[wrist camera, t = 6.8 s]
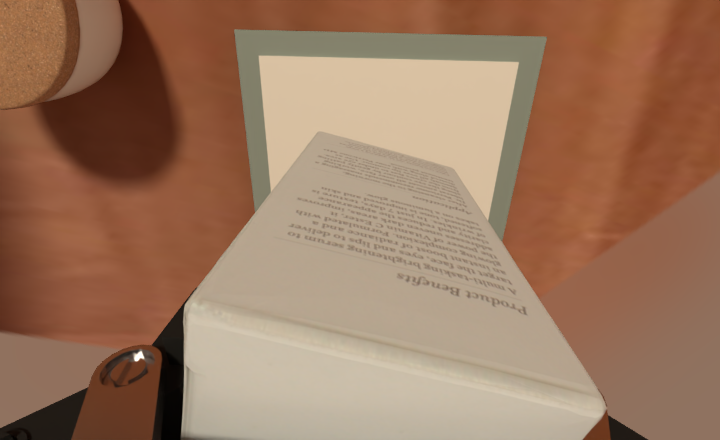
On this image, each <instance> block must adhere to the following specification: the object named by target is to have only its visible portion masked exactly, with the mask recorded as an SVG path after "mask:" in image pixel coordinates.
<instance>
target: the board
mask: <svg viewBox="0 0 720 440" xmlns="http://www.w3.org/2000/svg"><path fill="white" fill-rule="evenodd" d="M234 31H235V40H236V49H237V58H238V66H239V75H240V84H241V93H242V101H243V110H244V119H245V128H246V136H247V145H248V154H249V163H250V172H251V180H252V189H253V198H254V207H255V212H256V211H257V210H258V208H259V207H260V206H261V204H262V203H263V202H264V201H265V199H266V198H267V197H268V195H269V194H270V193H271V192H272V190H273V189H274V188H275V186H276V185H277V184H278V182H279V181H280V180H281V179H282V177H283V176H284V175H285V173H286V172H287V171H288V170H289V168H290V167H291V166H292V164H293V163H294V162H295V161H296V159H297V158H298V157H299V155H300V154H301V153H302V152H303V150H304V149H305V148H306V146H307V145H308V144H309V142H310V141H311V140H312V139H313V137H314V136H315V135H316V133H317V132H318V131H321V132H325V133H329V134H333V135H337V136H341V137H344V138H348V139H352V140H355V141H359V142H362V143H366V144H370V145H373V146H377V147H381V148H384V149H388V150H392V151H395V152H399V153H402V154H406V155H410V156H413V157H417V158H420V159H424V160H427V161H431V162H434V163H437V164H441V165H444V166H448V167H451V168H453V169H454V170H455V171H456V173H457V174H458V176H459V177H460V179H461V181H462V182H463V184H464V185H465V187H466V188H467V190H468V191H469V193H470V194H471V196H472V197H473V199H474V200H475V202H476V203H477V205H478V206H479V208H480V209H481V211H482V212H483V214H484V216H485V217H486V219H487V220H488V222H489V223H490V225H491V226H492V228H493V229H494V231H495V233H496V234H497V236H498V237H499V239H500V240H501V241H502V239H503V235H504V230H505V226H506V221H507V217H508V212H509V208H510V203H511V198H512V194H513V189H514V185H515V180H516V176H517V171H518V167H519V162H520V158H521V153H522V148H523V144H524V139H525V135H526V130H527V126H528V121H529V117H530V112H531V107H532V103H533V98H534V94H535V89H536V85H537V80H538V76H539V71H540V66H541V62H542V57H543V53H544V48H545V44H546V39H547V37H533V36H489V35H446V34H403V33H359V32H316V31H272V30H234Z"/></svg>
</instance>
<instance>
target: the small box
mask: <svg viewBox="0 0 720 440" xmlns="http://www.w3.org/2000/svg"><path fill="white" fill-rule="evenodd" d="M183 326H184V393H183V413H182V428H181V440H583V439H584V438H585V436H586V435H587V434H588V433H589V432H590V431H591V429H592V428H593V427H594V426H595V425H596V424H597V423H598V422H599V421H600V420H601V419H602V417H603V415H604V414H605V412H606V410H607V407H606V404H605V402H604V399H603V397H602V395H601V393H600V392H599V390H598V388H597V387H596V385H595V384H594V382H593V381H592V379H591V377H590V376H589V374H588V373H587V371H586V370H585V369H584V367H583V365H582V364H581V362H580V361H579V359H578V358H577V356H576V355H575V353H574V352H573V350H572V349H571V348H570V345H569V344H568V342H567V341H566V339H565V338H564V336H563V335H562V333H561V332H560V330H559V329H558V327H557V326H556V324H555V323H554V321H553V320H552V318H551V317H550V315H549V314H548V312H547V311H546V309H545V308H544V306H543V305H542V303H541V302H540V300H539V298H538V297H537V295H536V294H535V292H534V291H533V289H532V288H531V286H530V285H529V283H528V282H527V280H526V279H525V277H524V275H523V274H522V272H521V271H520V269H519V268H518V266H517V265H516V263H515V262H514V260H513V259H512V257H511V255H510V254H509V252H508V251H507V249H506V247H505V246H504V244H503V243H502V241H501V240H500V239H499V237H498V236H497V234H496V233H495V231H494V229H493V228H492V226H491V225H490V223H489V222H488V220H487V219H486V217H485V216H484V214H483V212H482V211H481V209H480V208H479V206H478V205H477V203H476V202H475V200H474V199H473V197H472V196H471V194H470V193H469V191H468V190H467V188H466V187H465V185H464V184H463V182H462V181H461V179H460V177H459V176H458V174H457V173H456V171H455V170H454V169H453V168H451V167H448V166H444V165H441V164H437V163H434V162H431V161H427V160H424V159H420V158H417V157H413V156H410V155H406V154H402V153H399V152H395V151H392V150H388V149H384V148H381V147H377V146H373V145H370V144H366V143H362V142H359V141H355V140H352V139H348V138H344V137H341V136H337V135H333V134H329V133H325V132H321V131H318V132H317V133H316V135H315V136H314V137H313V139H312V140H311V141H310V142H309V144H308V145H307V146H306V148H305V149H304V150H303V152H302V153H301V154H300V155H299V157H298V158H297V159H296V161H295V162H294V163H293V164H292V166H291V167H290V168H289V170H288V171H287V172H286V173H285V175H284V176H283V177H282V179H281V180H280V181H279V182H278V184H277V185H276V186H275V188H274V189H273V190H272V192H271V193H270V194H269V195H268V197H267V198H266V199H265V201H264V202H263V203H262V204H261V206H260V207H259V208H258V210H257V211H256V212H255V214H254V215H253V217H252V218H251V219H250V220H249V222H248V223H247V224H246V225H245V227H244V228H243V229H242V230H241V232H240V233H239V234H238V236H237V237H236V238H235V239H234V241H233V242H232V243H231V245H230V246H229V247H228V248H227V250H226V251H225V252H224V254H223V255H222V256H221V257H220V259H219V260H218V261H217V263H216V264H215V266H214V267H213V268H212V270H211V271H210V272H209V273H208V275H207V276H206V277H205V279H204V280H203V281H202V282H201V284H200V285H199V286H198V287H197V289H196V290H195V291H194V293H193V294H192V295H191V297H190V298H189V300H188V301H187V303H186V304H185V307H184V318H183Z"/></svg>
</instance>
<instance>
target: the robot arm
mask: <svg viewBox="0 0 720 440" xmlns="http://www.w3.org/2000/svg"><path fill="white" fill-rule="evenodd" d="M196 289H197V288H196ZM196 289H195V290H196ZM195 290H194V291H195ZM194 291H193V292H192V293H191V295H192V294H193V293H194ZM191 295H190V296H189V297H188V299H187V300H186V301H185V302H184V304H183V305H182V306H181V308H180V309H179V310H178V312H177V313H176V314H175V315H174V317H173V318H172V319H171V321H170V322H169V323H168V325H167V326H166V327H165V329H164V330H163V331H162V332H161V334H160V335H159V336H158V338H157V339H156V340H155V342H154V343H153V344H152V346H151V345H137V346H131V347H128V348H125V349H122V350H120V351H118V352H116V353H114V354H112V355H111V356H109V357H108V358H106V359H105V360H104V361H103V362H102V363H101V364H100V365H99V366H98V367H97V368H96V370H95V371H94V373H93V375H92V377H91V381H90V384H89V387H88V388H86V389H84V390H81V391H79V392H77V393H75V394H73V395H71V396H69V397H66V398H64V399H62V400H60V401H58V402H56V403H54V404H51V405H49V406H47V407H45V408H43V409H41V410H39V411H36V412H34V413H32V414H30V415H28V416H26V417H23V418H21V419H19V420H17V421H15V422H13V423H11V424H8V425H6V426H4V427H2V428H0V440H181V428H182V413H183V393H184V326H183V318H184V307H185V304H186V303H187V301H188V300H189V298H190V297H191ZM598 390H599V389H598ZM599 392H600V391H599ZM600 393H601V392H600ZM601 395H602V394H601ZM602 397H603V395H602ZM603 399H604V397H603ZM604 402H605V399H604ZM605 404H606V402H605ZM606 407H607V405H606ZM583 440H648V439H646V438H644V437H643V436H641V435H639V434H638V433H636V432H635V431H633V430H631V429H630V428H628V427H626V426H625V425H623V424H621V423H620V422H618V421H617V420H615V419H613V418H611V417H610V416H608V413H607V410H606V412H605V414H604V415H603V417H602V419H601V420H600V421H599V422H598V423H597V424H596V425H595V426H594V427H593V428H592V429H591V431H590V432H589V433H588V434H587V435H586V436H585V438H584V439H583Z"/></svg>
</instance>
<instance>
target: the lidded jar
mask: <svg viewBox="0 0 720 440" xmlns="http://www.w3.org/2000/svg"><path fill="white" fill-rule="evenodd" d="M122 35H123V21H122V13H121V8H120V4H119V1H118V0H0V110H8V109H16V108H24V107H29V106H32V105H35V104H38V103H41V102H46V101H50V100H55V99H59V98H62V97H65V96H69V95H71V94H74V93H77V92H80V91H82V90H84V89H85V88H87V87H89V86H91V85H92V84H94V83H96V82H97V81H99V80H100V79H101V78H102V77H103V76H104V75H105V74H106V73H107V72H108V71H109V69H110V68H111V67H112V65H113V64H114V62H115V60H116V58H117V56H118V54H119V51H120V46H121V42H122Z"/></svg>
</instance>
